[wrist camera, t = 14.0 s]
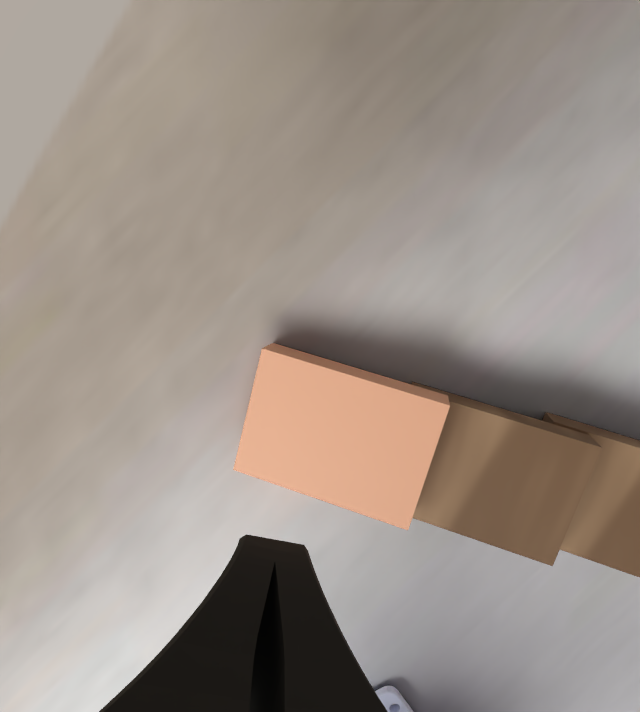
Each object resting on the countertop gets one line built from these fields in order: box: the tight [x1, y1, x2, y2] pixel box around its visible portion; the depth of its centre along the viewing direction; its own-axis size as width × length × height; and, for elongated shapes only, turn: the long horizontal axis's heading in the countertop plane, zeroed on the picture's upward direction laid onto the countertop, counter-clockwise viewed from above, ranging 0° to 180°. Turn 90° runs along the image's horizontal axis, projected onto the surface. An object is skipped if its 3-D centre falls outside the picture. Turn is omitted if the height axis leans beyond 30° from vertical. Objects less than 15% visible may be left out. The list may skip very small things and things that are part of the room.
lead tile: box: [233, 343, 450, 530], centre depth 18 cm, size 1×5×7 cm
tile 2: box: [411, 382, 602, 566], centre depth 19 cm, size 1×5×7 cm
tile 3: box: [542, 412, 640, 577], centre depth 19 cm, size 1×5×7 cm
